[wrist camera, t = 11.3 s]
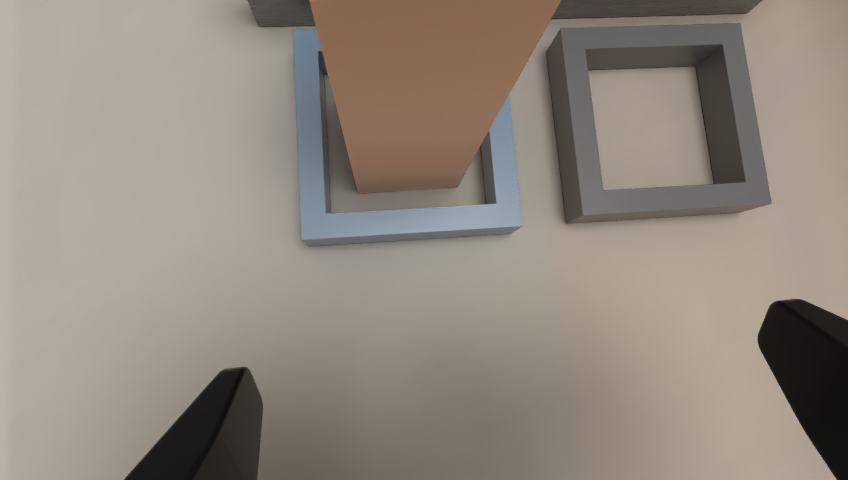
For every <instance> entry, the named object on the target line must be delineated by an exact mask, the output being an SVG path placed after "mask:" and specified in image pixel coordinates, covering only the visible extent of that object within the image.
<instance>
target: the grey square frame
mask: <svg viewBox="0 0 848 480" xmlns="http://www.w3.org/2000/svg"><path fill="white" fill-rule="evenodd" d="M546 53H547V62H548V70H549V79H550V88H551V96H552V105H553V114H554V122H555V131H556V140H557V148H558V157H559V166H560V174H561V183H562V192H563V200H564V209H565V218H566V223H582V222H598V221H614V220H630V219H646V218H662V217H678V216H694V215H710V214H726V213H740V212H744V211H747V210H751V209H754V208H758V207H761V206H765V205H768V204H772V203H771V197H770V191H769V186H768V180H767V174H766V169H765V163H764V157H763V151H762V146H761V140H760V134H759V128H758V123H757V117H756V111H755V105H754V100H753V94H752V88H751V83H750V77H749V71H748V65H747V60H746V54H745V48H744V42H743V37H742V31H741V25H740V23H725V24H692V25H658V26H625V27H591V28H561V29H560V30H559V32H558V33H557V35H556V37H555V38H554V40H553V42H552V43H551V45H550V47H549V48H548V50H547V52H546ZM681 66H696V71H697V77H698V84H699V90H700V96H701V103H702V109H703V115H704V121H705V128H706V134H707V140H708V147H709V153H710V159H711V165H712V172H713V178H714V184H708V185H690V186H673V187H655V188H638V189H620V190H603V185H602V177H601V169H600V161H599V153H598V145H597V137H596V130H595V122H594V114H593V106H592V98H591V90H590V82H589V75H588V70H600V69H627V68H654V67H681Z"/></svg>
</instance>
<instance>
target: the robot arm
mask: <svg viewBox="0 0 848 480" xmlns="http://www.w3.org/2000/svg"><path fill="white" fill-rule="evenodd" d="M758 344H759V348H760V350H761V352H762V354H763V356H764V358H765V359H766V361H767V363H768V365H769V367H770V369H771V371H772V372H773V374H774V376H775V378H776V380H777V382H778V384H779V386H780V387H781V389H782V391H783V393H784V395H785V397H786V399H787V400H788V402H789V404H790V406H791V408H792V410H793V412H794V413H795V415H796V417H797V419H798V421H799V422H800V424H801V426H802V427H803V429H804V431H805V432H806V434H807V436H808V437H809V439H810V440H811V442H812V443H813V445H814V446H815V448H816V449H817V451H818V452H819V454H820V455H821V457H822V458H823V460H824V461H825V463H826V464H827V466H828V467H829V469H830V470H831V472H832V473H833V475H834V476H835V478H836V479H837V480H848V320H846V319H844V318H842V317H839V316H837V315H835V314H833V313H831V312H828V311H826V310H824V309H822V308H820V307H817V306H815V305H813V304H811V303H809V302H806V301H804V300H801V299H790V300H781V301H776V302H773V303H772V304H771V305H770V307H769V309H768V311H767V313H766V316H765V318H764V321H763V323H762V326H761V328H760V331H759V333H758ZM262 415H263V403H262V398H261V395H260V393H259V390H258V388H257V386H256V383H255V381H254V379H253V376H252V374H251V372H250V370H249V369H248V368H247V367H237V368H229V369H224V370H222V371H221V372H219V373H218V374H217V376H216V377H215V378H214V379H213V380H212V381H211V382H210V383H209V385H208V386H207V387H206V388H205V389H204V390H203V391H202V392H201V394H200V395H199V396H198V397H197V398H196V399H195V400H194V401H193V403H192V404H191V405H190V406H189V407H188V408H187V409H186V410H185V412H184V413H183V414H182V415H181V416H180V417H179V418H178V419H177V421H176V422H175V423H174V424H173V425H172V426H171V427H170V428H169V430H168V431H167V432H166V433H165V434H164V435H163V436H162V437H161V438H160V440H159V441H158V442H157V443H156V444H155V445H154V446H153V447H152V449H151V450H150V451H149V452H148V453H147V454H146V455H145V456H144V458H143V459H142V460H141V461H140V462H139V463H138V464H137V465H136V467H135V468H134V469H133V470H132V471H131V472H130V473H129V474H128V476H127V477H126V478H125V479H124V480H257V474H258V462H259V450H260V439H261V427H262Z"/></svg>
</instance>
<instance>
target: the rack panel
mask: <svg viewBox="0 0 848 480" xmlns="http://www.w3.org/2000/svg"><path fill="white" fill-rule="evenodd" d="M761 1H762V0H561V2H560V3H559V5H558V7H557V9H556V11H555V12H554V14H553V16H552V18H551V19H559V18H595V17H631V16H666V15H702V14H738V13H748V12H749V11H750V10H752V9H753V8H754V7H755V6H756V5H758V4H759V3H760V2H761ZM248 2H249V5H250V7H251V9H252V11H253V14H254V16H255V18H256V20H257V22H258V25H259V27H275V26H310V25H315V21H314V17H313V13H312V9H311V5H310V1H309V0H248Z"/></svg>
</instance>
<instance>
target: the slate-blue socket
mask: <svg viewBox="0 0 848 480" xmlns="http://www.w3.org/2000/svg"><path fill="white" fill-rule="evenodd" d="M293 44H294V69H295V93H296V118H297V142H298V167H299V191H300V216H301V240H302V241H304V242H305V243H306V244H307V245H308V246H323V245H339V244H354V243H370V242H386V241H401V240H417V239H433V238H449V237H464V236H480V235H496V234H511V233H512V232H514V231H516V230H517V229H519V228H520V227H522V226H523V225H522V215H521V205H520V195H519V186H518V176H517V166H516V157H515V147H514V137H513V128H512V118H511V108H510V99H509V95H508V97H507V99H506V101H505V102H504V104H503V106H502V108H501V110H500V111H499V113H498V115H497V117H496V119H495V120H494V122H493V124H492V126H491V128H490V129H489V131H488V133H487V135H486V137H485V138H484V140H483V142H482V144H481V154H482V164H483V175H484V186H485V196H486V204H483V205H466V206H449V207H432V208H415V209H398V210H380V211H363V212H346V213H331V207H330V186H329V166H328V146H327V126H326V105H325V85H324V74H325V73H328V72H327V68H326V64H325V61H324V57H323V53H322V49H321V45H320V41H319V37H318V33H317V29H302V30H293Z"/></svg>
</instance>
